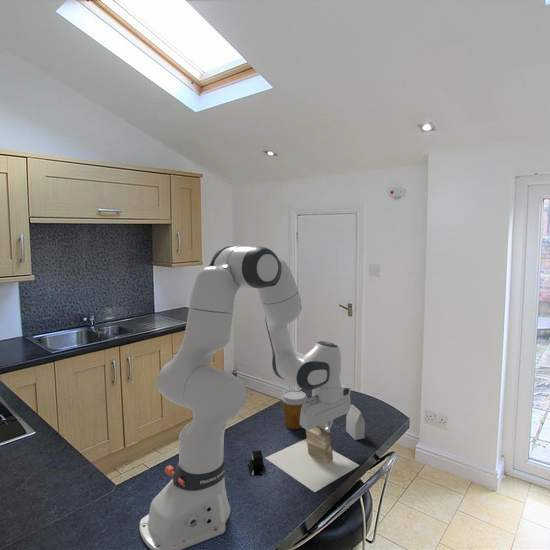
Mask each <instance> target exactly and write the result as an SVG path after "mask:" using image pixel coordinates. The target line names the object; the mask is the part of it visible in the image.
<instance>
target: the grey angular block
mask: <svg viewBox="0 0 550 550" xmlns="http://www.w3.org/2000/svg"><path fill="white" fill-rule="evenodd" d="M345 415H346V417H345V418H346V419H345V421H346V422H345V432H346V433H348V434H349V436H351V437H352V438H353V439H354V441H356V440H365V437H366V434H365V433H366V430H365V429H366V421H365V420H364V417H363V414H362V411H360V410H359V409H358V408H357V407H356V406H355V405H354V404H350V410H349V412H348V413H347V414H345Z"/></svg>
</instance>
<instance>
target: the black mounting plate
mask: <svg viewBox="0 0 550 550" xmlns="http://www.w3.org/2000/svg"><path fill="white" fill-rule="evenodd" d="M248 462H249V463H247V467H248V472H249V473H248V474H249V477H256V476H264V475H263V472H266V471H267V470H266V468H265V463H264V456H263V453H262V450H252V451H251V459H248Z"/></svg>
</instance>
